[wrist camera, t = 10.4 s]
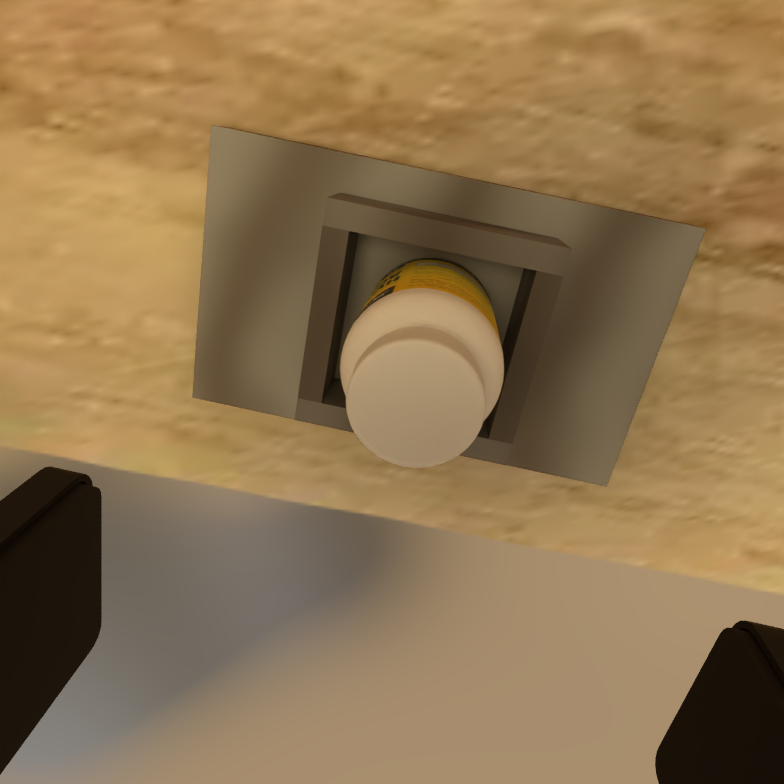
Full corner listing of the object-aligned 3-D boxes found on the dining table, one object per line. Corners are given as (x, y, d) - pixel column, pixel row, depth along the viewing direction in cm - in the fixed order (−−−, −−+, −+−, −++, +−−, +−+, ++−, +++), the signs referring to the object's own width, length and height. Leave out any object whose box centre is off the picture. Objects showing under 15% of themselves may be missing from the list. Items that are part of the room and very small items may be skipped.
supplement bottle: (393, 234, 24) (360, 281, 15) (513, 284, 25) (550, 359, 16) (349, 349, 27) (297, 450, 17) (460, 394, 27) (466, 516, 18)
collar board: (691, 224, 25) (740, 238, 21) (599, 470, 29) (624, 523, 25) (224, 126, 25) (179, 120, 21) (204, 386, 30) (164, 423, 25)
